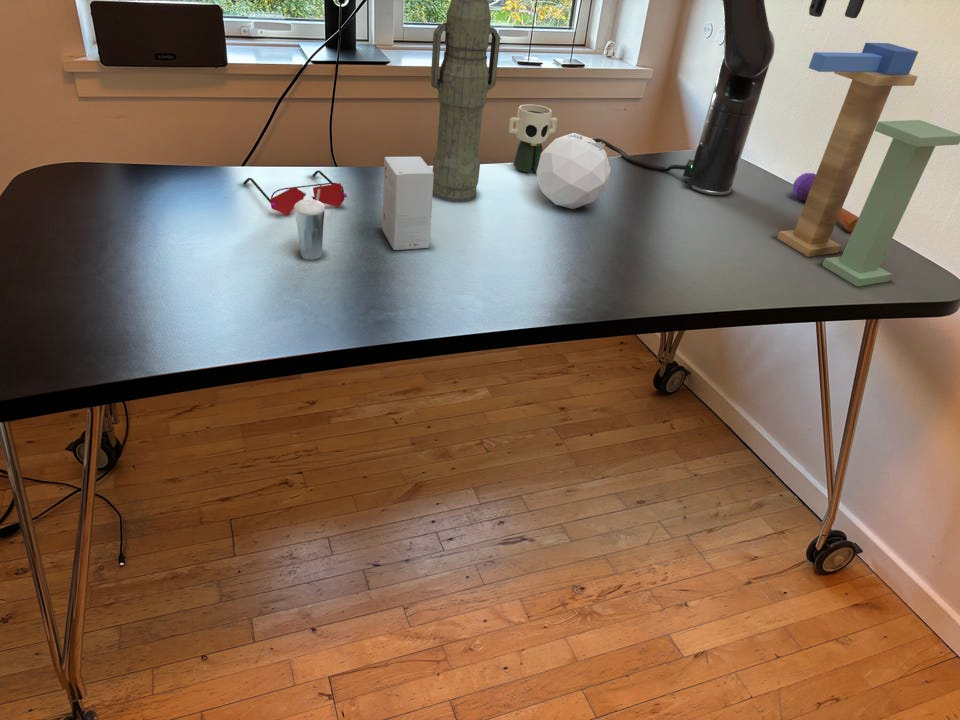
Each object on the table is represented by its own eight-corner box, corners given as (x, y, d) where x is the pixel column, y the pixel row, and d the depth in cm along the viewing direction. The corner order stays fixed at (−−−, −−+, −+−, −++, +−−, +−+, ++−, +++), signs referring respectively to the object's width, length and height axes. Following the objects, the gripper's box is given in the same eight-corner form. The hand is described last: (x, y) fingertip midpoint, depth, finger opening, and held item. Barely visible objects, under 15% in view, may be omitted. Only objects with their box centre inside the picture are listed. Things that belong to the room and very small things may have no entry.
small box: (430, 248, 118) (435, 173, 111) (392, 251, 116) (395, 174, 109) (417, 228, 124) (420, 155, 117) (381, 230, 122) (383, 156, 115)
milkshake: (333, 251, 114) (332, 192, 109) (316, 264, 110) (314, 203, 104) (308, 244, 115) (306, 185, 110) (291, 257, 111) (287, 197, 105)
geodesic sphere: (628, 171, 142) (596, 107, 136) (628, 197, 130) (592, 128, 125) (562, 204, 148) (529, 144, 143) (556, 232, 137) (519, 167, 131)
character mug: (509, 175, 150) (517, 113, 143) (498, 164, 156) (505, 103, 148) (556, 174, 154) (566, 114, 146) (543, 163, 159) (552, 104, 152)
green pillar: (852, 287, 122) (920, 137, 108) (817, 266, 128) (878, 121, 113) (892, 280, 126) (963, 135, 111) (856, 260, 132) (919, 119, 117)
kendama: (846, 215, 140) (790, 170, 155) (838, 241, 144) (784, 195, 159) (873, 210, 141) (815, 166, 155) (864, 235, 145) (809, 190, 159)
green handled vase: (491, 199, 139) (514, 2, 119) (435, 204, 134) (449, -1, 114) (471, 182, 145) (490, -8, 125) (418, 187, 140) (428, -10, 120)
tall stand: (803, 257, 131) (875, 76, 113) (773, 238, 137) (837, 63, 118) (842, 252, 135) (918, 76, 116) (811, 234, 140) (878, 64, 122)
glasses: (272, 219, 121) (270, 191, 119) (243, 184, 132) (240, 158, 130) (348, 209, 128) (348, 182, 125) (314, 176, 139) (313, 151, 136)
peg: (828, 74, 110) (837, 50, 108) (799, 65, 114) (807, 41, 112) (908, 74, 117) (918, 51, 115) (879, 65, 121) (888, 43, 119)
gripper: (883, -94, 117) (844, 13, 127) (821, -102, 112) (785, 11, 121) (922, -89, 112) (879, 22, 121) (859, -98, 106) (818, 20, 116)
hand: (832, 16), depth 121 cm, fingers open, 8 cm apart
